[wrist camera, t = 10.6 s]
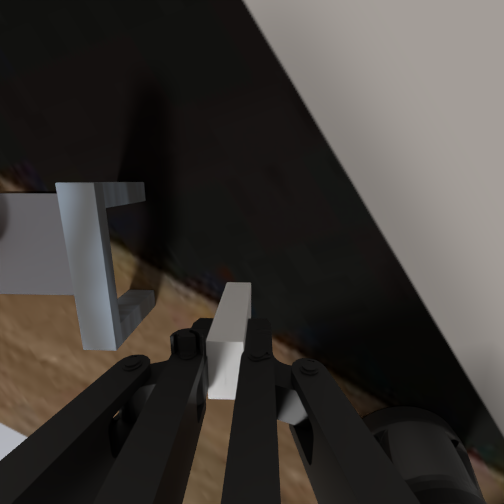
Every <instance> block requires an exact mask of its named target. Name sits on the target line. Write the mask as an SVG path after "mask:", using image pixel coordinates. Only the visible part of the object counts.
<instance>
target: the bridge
mask: <svg viewBox="0 0 504 504" xmlns="http://www.w3.org/2000/svg"><path fill="white" fill-rule="evenodd" d="M55 185H56V190H57V196H58V202H59V208H60V214H61V220H62V226H63V232H64V238H65V243H66V249H67V255H68V261H69V267H70V273H71V279H72V285H73V291H74V297H75V302H76V308H77V314H78V320H79V326H80V332H81V338H82V344H83V350H115V351H116V350H117V349H118V348H119V347H120V346H121V345H122V343H123V342H124V341H125V340H126V339H127V338H128V336H129V335H130V334H131V333H132V332H133V331H134V330H135V328H136V327H137V326H138V325H139V324H140V323H141V321H142V320H143V319H144V318H145V317H146V316H147V315H148V313H149V312H150V311H151V310H152V309H153V308H154V306H155V297H154V290H128V291H127V292H126V293H124V294H123V295H122V296H121V297H120V298H118V299H117V293H116V285H115V277H114V270H113V262H112V254H111V246H110V239H109V231H108V223H107V215H106V208H108V207H113V206H119V205H125V204H131V203H136V202H142V201H146V199H145V189H144V182H81V183H55Z"/></svg>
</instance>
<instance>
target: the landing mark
mask: <svg viewBox="0 0 504 504" xmlns="http://www.w3.org/2000/svg"><path fill="white" fill-rule="evenodd" d="M0 294H41V295H74V291H73V285H72V279H71V273H70V267H69V261H68V255H67V249H66V243H65V238H64V232H63V226H62V220H61V214H60V208H59V202H58V196H57V194H51V193H0Z"/></svg>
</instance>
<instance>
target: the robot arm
mask: <svg viewBox="0 0 504 504" xmlns="http://www.w3.org/2000/svg"><path fill="white" fill-rule="evenodd" d="M170 342H171V356H170V358H169V360H167V361H163V362H158V363H152V364H150V359H149V358H148V357H147V356H144V355H131V356H128V357H126V358H123V359H122V360H120V361H119V362H117V363H116V364H115V365H114V366H113V367H111V368H110V369H109V370H108V371H107V372H105V373H104V374H103V375H102V376H101V377H99V378H98V379H97V380H96V381H95V382H93V383H92V384H91V385H90V386H89V387H87V388H86V389H85V390H84V391H83V392H82V393H80V394H79V395H78V396H77V397H76V398H74V399H73V400H72V401H71V402H70V403H68V404H67V405H66V406H65V407H64V408H62V409H61V410H60V411H59V412H58V413H57V414H55V415H54V416H53V417H52V418H51V419H49V420H48V421H47V422H46V423H45V424H43V425H42V426H41V427H40V428H39V429H37V430H36V431H35V432H34V433H33V434H32V435H30V436H29V437H28V438H27V439H26V440H24V441H23V442H22V443H21V444H20V445H18V446H17V447H16V448H15V449H14V450H12V452H10V453H9V454H8V455H7V456H5V457H4V458H3V459H2V460H1V461H0V504H182V502H183V498H184V494H185V490H186V486H187V482H188V478H189V474H190V470H191V466H192V462H193V458H194V454H195V450H196V446H197V443H198V439H199V435H200V431H201V427H202V423H203V419H204V415H205V411H206V395H207V391H208V399H233V400H235V403H234V411H233V418H232V426H231V433H230V440H229V448H228V455H227V462H226V470H225V477H224V484H223V492H222V499H221V504H281V498H280V478H279V457H278V437H277V420H280V421H283V422H286V423H289V427H290V431H291V433H292V436H293V438H294V441H295V444H296V446H297V449H298V452H299V454H300V457H301V459H302V462H303V465H304V467H305V470H306V473H307V475H308V478H309V480H310V483H311V486H312V488H313V491H314V494H315V496H316V499H317V501H318V504H487V503H486V502H485V500H484V498H483V495H482V492H481V490H480V487H479V484H478V481H477V479H476V476H475V473H474V470H473V468H472V465H471V462H470V460H469V457H468V454H467V451H466V449H465V447H464V445H463V443H462V442H461V440H460V439H459V437H458V436H457V435H456V433H455V432H454V431H453V429H452V428H451V427H450V425H449V424H448V423H447V422H446V421H445V420H444V419H443V418H441V417H440V416H438V415H437V414H435V413H433V412H431V411H428V410H425V409H422V408H417V407H410V406H398V407H390V408H386V409H382V410H379V411H376V412H374V413H372V414H370V415H368V416H366V417H365V418H363V419H361V417H360V416H359V415H358V413H357V412H356V410H355V409H354V407H353V406H352V404H351V403H350V402H349V400H348V399H347V397H346V396H345V394H344V393H343V392H342V390H341V389H340V387H339V386H338V384H337V383H336V381H335V380H334V379H333V377H332V376H331V374H330V373H329V371H328V370H327V369H326V367H325V366H324V365H323V364H322V363H320V362H319V361H317V360H314V359H309V358H302V359H298V360H296V361H295V362H293V364H292V366H290V365H287V364H284V363H281V362H279V361H278V360H277V359H276V358H275V357H274V356H273V352H272V332H271V323H270V322H269V321H268V320H267V319H253V318H251V283H231V282H227V284H226V287H225V289H224V292H223V295H222V298H221V301H220V303H219V306H218V309H217V312H216V314H215V317H214V318H200V319H198V320H197V321H196V322H194V323H193V325H192V327H191V328H187V329H181V330H178V331H176V332H174V333H173V334H172V335H171V336H170ZM118 411H119V413H118V414H117V415H116V416H115V417H114V415H115V414H116V413H117V412H118ZM113 417H114V418H113Z"/></svg>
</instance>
